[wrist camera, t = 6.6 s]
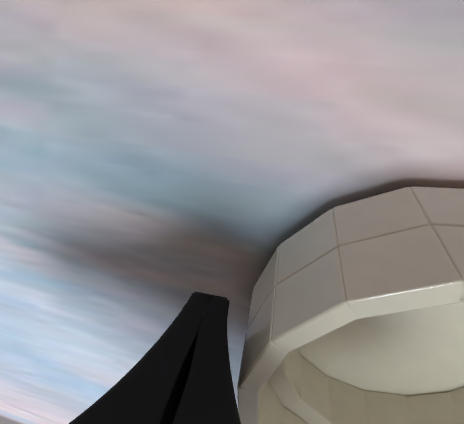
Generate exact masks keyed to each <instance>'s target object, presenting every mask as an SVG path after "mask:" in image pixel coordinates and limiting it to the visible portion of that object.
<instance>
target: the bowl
mask: <svg viewBox="0 0 464 424" xmlns="http://www.w3.org/2000/svg"><path fill="white" fill-rule="evenodd" d="M237 390H238V413H239V417H240V422H241V424H464V189H458V188H436V187H414V186H412V187H405V188H401V189H398V190H394V191H390V192H387V193H383V194H379V195H376V196H372V197H369V198H365V199H361V200H358V201H354V202H350V203H347V204H343V205H340V206H336V207H333V209H330V210H328V211H327V212H325V213H324V214H322V215H321V216H320V217H318V218H317V219H315V220H314V221H312V222H311V223H310V224H308V225H307V226H305V227H304V228H302V229H301V230H300V231H298V232H297V233H295V234H294V235H292V236H291V237H290V238H288V239H287V240H285V241H284V242H282V243H281V244H280V245H279V246H278V247H277V249H276V250H275V252H274V254H273V256H272V257H271V259H270V261H269V262H268V264H267V266H266V267H265V269H264V271H263V272H262V274H261V276H260V278H259V279H258V281H257V283H256V284H255V286H254V288H253V293H252V299H251V305H250V311H249V318H248V324H247V332H246V336H245V343H244V349H243V355H242V361H241V367H240V374H239V380H238V386H237Z"/></svg>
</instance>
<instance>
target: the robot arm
mask: <svg viewBox="0 0 464 424" xmlns="http://www.w3.org/2000/svg"><path fill="white" fill-rule="evenodd" d="M228 308H229V300H228V299H227V298H225V297H220V296H215V295H210V294H205V293H200V292H194V293H192V295H191V296H190V298H189V300H188V301H187V303H186V304H185V306H184V307H183V309H182V310H181V312H180V313H179V314H178V316H177V317H176V318H175V320H174V321H173V322H172V324H171V325H170V326H169V327H168V329H167V330H166V331H165V332H164V334H163V335H162V336H161V337H160V339H159V340H158V341H157V342H156V343H155V344H154V345H153V347H152V348H151V349H150V350H149V351H148V352H147V353H146V354H145V355H144V356H143V358H142V359H141V360H140V361H139V362H138V363H137V364H136V365H135V366H134V367H133V368H132V369H131V370H130V371H129V372H128V373H127V374H126V375H125V376H124V377H123V378H122V379H121V380H120V381H119V382H118V383H117V384H115V385H114V386H113V387H112V388H111V389H110V390H109V391H108V392H106V393H105V394H104V395H103V396H102V397H101V398H100V399H99V400H97V401H96V402H95V403H94V404H93V405H92V406H90V407H89V408H88V409H87V410H85V411H84V412H83V413H82V414H80V415H79V416H78V417H77V418H75V419H74V420H73V421H71V422H70V423H69V424H241V422H240V417H239V413H238V408H237V404H236V399H235V394H234V388H233V383H232V376H231V370H230V362H229V352H228V341H227V315H228Z"/></svg>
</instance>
